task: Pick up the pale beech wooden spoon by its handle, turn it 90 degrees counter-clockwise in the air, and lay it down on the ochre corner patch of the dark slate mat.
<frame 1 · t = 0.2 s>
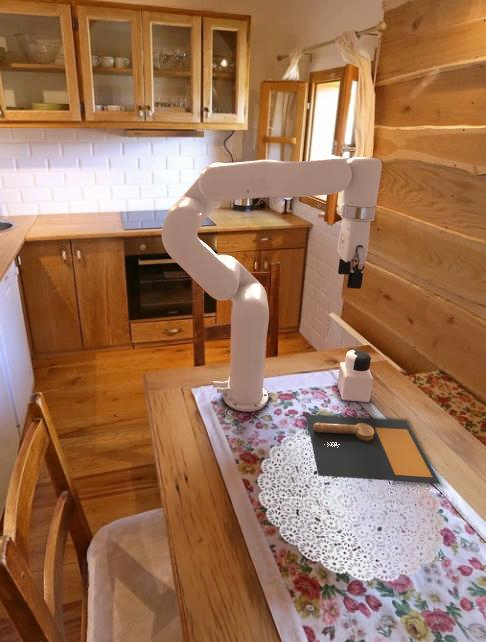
hand: (348, 280, 101), 36 cm above the table, tool pointing down, fingers open, 9 cm apart
spoon: (345, 432, 101), resting on mat
mat: (365, 446, 98), on the table
container: (352, 393, 117), on the table
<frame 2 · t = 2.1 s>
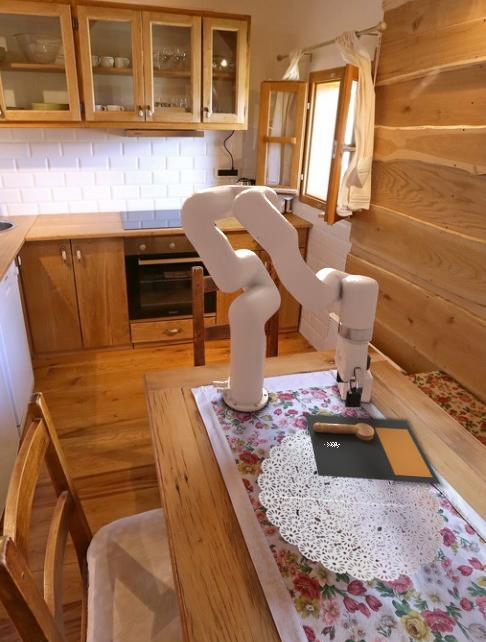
hand: (347, 393, 98), 12 cm above the table, tool pointing down, fingers open, 9 cm apart
nothing on the table moved.
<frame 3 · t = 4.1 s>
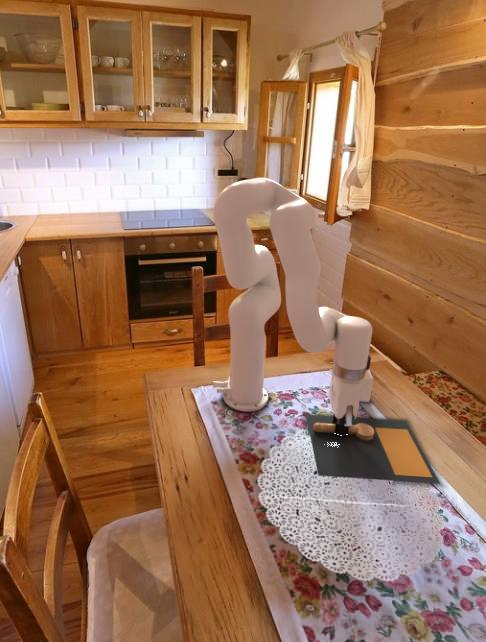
hand: (339, 431, 101), 1 cm above the table, tool pointing down, fingers closed on spoon, 2 cm apart
spoon: (345, 432, 101), resting on mat, touching gripper
everything else where it was.
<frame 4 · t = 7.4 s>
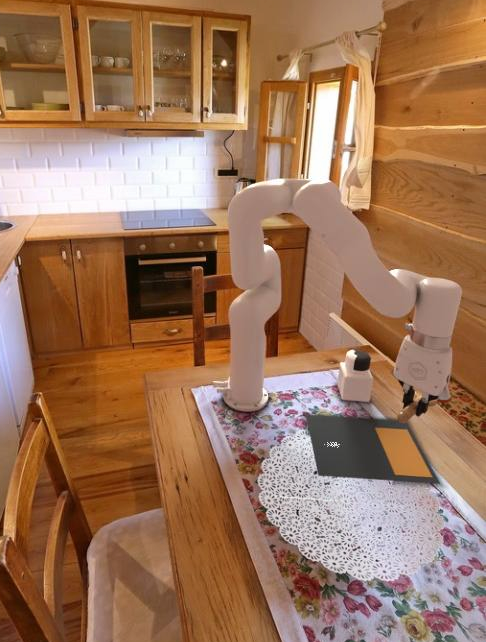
hand: (413, 409, 90), 13 cm above the table, tool pointing down, fingers closed on spoon
spoon: (416, 408, 91), point 13 cm above the table, touching gripper
everything else where it was.
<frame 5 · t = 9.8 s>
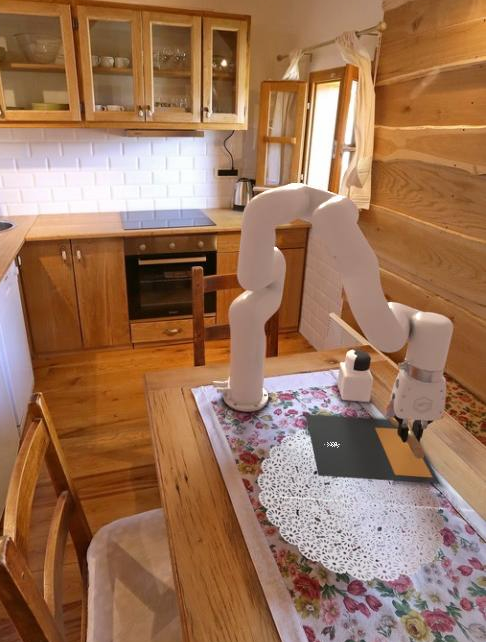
hand: (408, 438, 93), 5 cm above the table, tool pointing down, fingers closed on spoon
spoon: (405, 434, 94), point 5 cm above the table, touching gripper
everything else where it was.
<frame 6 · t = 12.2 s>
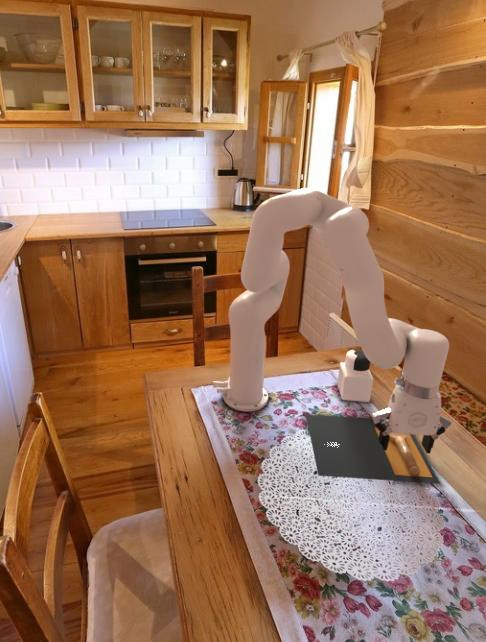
hand: (404, 447, 94), 2 cm above the table, tool pointing down, fingers open, 9 cm apart
spoon: (402, 450, 96), resting on mat
everything else where it was.
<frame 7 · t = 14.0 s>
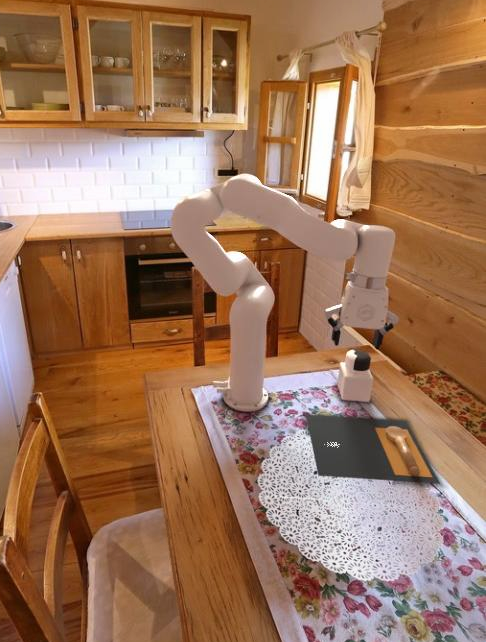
hand: (355, 344, 99), 22 cm above the table, tool pointing down, fingers open, 9 cm apart
nothing on the table moved.
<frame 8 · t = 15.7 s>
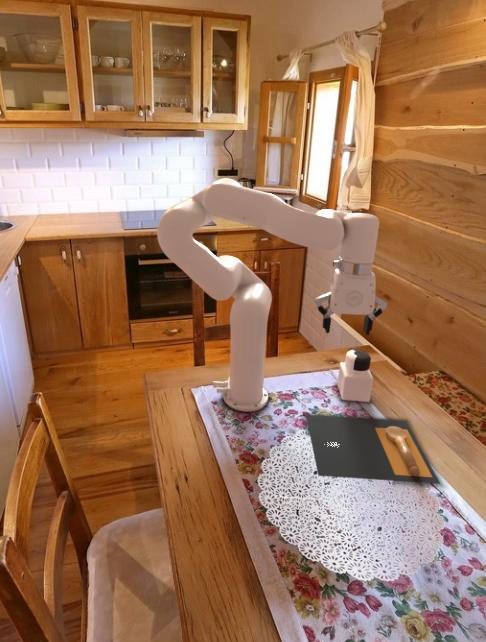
hand: (346, 331, 101), 24 cm above the table, tool pointing down, fingers open, 9 cm apart
nothing on the table moved.
at the end: spoon inside the target area (0.1 cm from its centre), resting on mat; spoon tilted 0°; the gripper is holding nothing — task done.
